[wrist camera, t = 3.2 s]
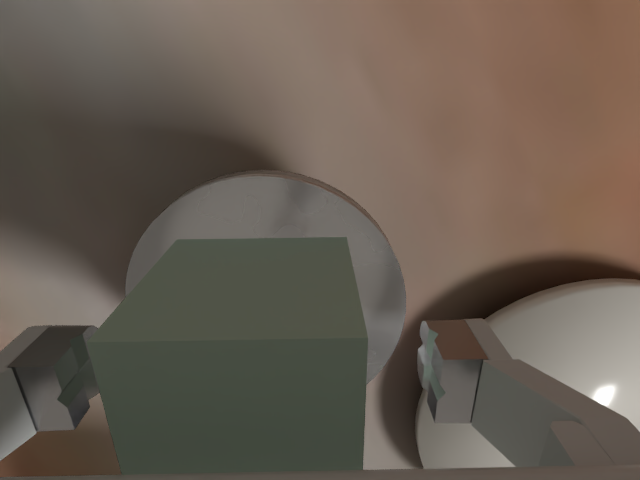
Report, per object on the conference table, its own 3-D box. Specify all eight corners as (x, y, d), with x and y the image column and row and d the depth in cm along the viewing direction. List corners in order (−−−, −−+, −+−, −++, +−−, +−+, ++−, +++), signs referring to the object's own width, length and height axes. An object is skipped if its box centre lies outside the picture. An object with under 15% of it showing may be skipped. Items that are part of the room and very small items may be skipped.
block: (176, 239, 11) (86, 342, 6) (346, 236, 11) (368, 337, 6) (197, 376, 12) (136, 529, 8) (344, 373, 12) (360, 524, 8)
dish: (424, 270, 15) (436, 290, 14) (767, 265, 15) (812, 285, 14) (400, 502, 20) (407, 534, 19) (657, 496, 20) (683, 528, 19)
